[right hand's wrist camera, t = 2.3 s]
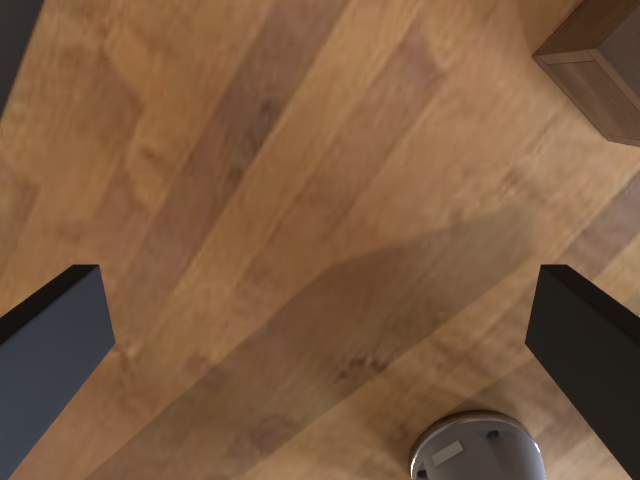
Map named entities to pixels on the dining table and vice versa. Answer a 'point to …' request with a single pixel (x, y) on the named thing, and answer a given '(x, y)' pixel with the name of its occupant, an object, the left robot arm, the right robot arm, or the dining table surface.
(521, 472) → the right robot arm
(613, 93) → the cabinet
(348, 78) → the dining table surface
